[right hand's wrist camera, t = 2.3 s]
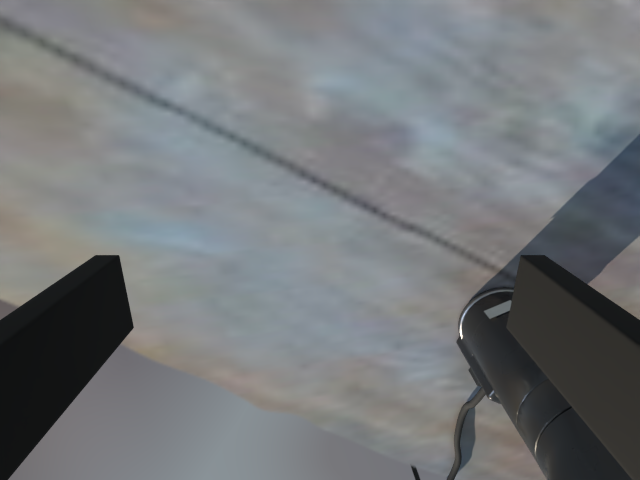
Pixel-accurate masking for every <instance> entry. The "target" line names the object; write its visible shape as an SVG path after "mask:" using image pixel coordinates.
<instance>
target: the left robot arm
mask: <svg viewBox="0 0 640 480" xmlns="http://www.w3.org/2000/svg"><path fill="white" fill-rule="evenodd" d="M513 292H514V289H513V288H496V289H491V290H488V291H485V292H483V293H481V294H479V295H478V296H476V297H475V298H473V299H472V300H471V301H470V302H469V303H468V304H467V305H466V307H465V308H464V310H463V311H462V313H461V315H460V318H459V323H458V330H459V335H460V336H459V338H458V340H457V344H458V346H459V348H460V350H461V351H462V353H463V355H464V357H465V358H466V360H467V362H468V364H469V365H470V369H469V372H470V374H471V376H472V377H473V379H474V381H475V383H476V385H478V386H481V387H482V388H481V389H480V390H479V392H478V393H477V394H476V395H475V397H474V398H473V399H472V400H471V401H469V402H466V403H465V404H464V405H463V407H462V409H461V411H460V414H459V417H458V420H457V424H456V429H455V435H454V447H455V462H454V464H453V467H452V469H451V472H450V474H449V476H448V478H447V480H454V478H455V476H456V474H457V472H458V469H459V467H460V464H461V449H460V437H461V432H462V427H463V423H464V419H465V417H466V414H467V412H468V410H469V409H470V408H473V407H475V406H476V405H477V404H478V403H479V402H480V401H481V400H482V398H483V397H484V396H485V395H487V397H488V398H489V399H490V400H492V401H494V402H497V403H499V404H502V406H503V407H504V409H505V411H506V412H507V414H508V416H509V417H510V419H511V421H512V422H513V424H514V426H515V427H516V429H517V431H518V432H519V434H520V436H521V437H522V439H523V440H524V442H525V444H526V445H527V447H528V449H529V450H530V452H531V454H532V455H533V457H534V459H535V460H536V462H537V464H538V465H539V467H540V469H541V471H542V472H543V474H544V476H545V477H546V479H547V480H632V479H631V478H630V476H629V475H628V474H627V473H626V472H625V470H624V469H623V468H622V467H621V466H620V464H619V463H618V462H617V461H616V459H615V458H614V457H613V456H612V455H611V453H610V452H609V451H608V450H607V449H606V447H605V446H604V445H603V444H602V443H601V441H600V440H599V439H598V438H597V437H596V435H595V434H594V433H593V432H592V431H591V429H590V428H589V427H588V426H587V424H586V423H585V422H584V421H583V420H582V418H581V417H580V416H579V415H578V414H577V412H576V411H575V410H574V409H573V408H572V406H571V405H570V404H569V403H568V402H567V400H566V399H565V398H564V397H563V395H562V394H561V393H560V392H559V391H558V389H557V388H556V387H555V386H554V385H553V383H552V382H551V381H550V380H549V379H548V377H547V376H546V375H545V374H544V373H543V371H542V370H541V369H540V368H539V367H538V365H537V364H536V363H535V362H534V360H533V359H532V358H531V357H530V356H529V354H528V353H527V352H526V351H525V350H524V348H523V347H522V346H521V345H520V344H519V342H518V341H517V340H516V339H515V338H514V336H513V335H512V334H511V333H510V332H509V330H508V329H507V328H506V327H507V322H508V317H509V312H510V307H511V302H512V297H513ZM411 468H412V471H413V474H414V477H415V480H420V477H419V474H418V471H417V468H416V467H415V466H411Z"/></svg>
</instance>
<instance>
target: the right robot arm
mask: <svg viewBox="0 0 640 480" xmlns="http://www.w3.org/2000/svg"><path fill="white" fill-rule="evenodd" d="M133 328H134V327H133V322H132V317H131V312H130V307H129V302H128V297H127V292H126V287H125V282H124V277H123V272H122V267H121V262H120V257H119V255H95V256H94V257H92V258H91V259H89V260H88V261H87V262H85V263H84V264H82V265H81V266H79V267H78V268H76V269H75V270H73V271H72V272H70V273H69V274H67V275H66V276H64V277H63V278H62V279H60V280H59V281H57V282H56V283H54V284H53V285H51V286H50V287H48V288H47V289H45V290H44V291H42V292H41V293H39V294H38V295H37V296H35V297H34V298H32V299H31V300H29V301H28V302H26V303H25V304H23V305H22V306H20V307H19V308H17V309H16V310H15V311H13V312H12V313H10V314H9V315H7V316H6V317H4V318H3V319H1V320H0V480H8V479H9V478H10V476H11V475H12V474H13V473H14V472H15V470H16V469H17V468H18V467H19V466H20V464H21V463H22V462H23V461H24V459H25V458H26V457H27V456H28V455H29V453H30V452H31V451H32V450H33V449H34V447H35V446H36V445H37V444H38V442H39V441H40V440H41V439H42V438H43V437H44V435H45V434H46V433H47V432H48V430H49V429H50V428H51V427H52V426H53V424H54V423H55V422H56V421H57V420H58V418H59V417H60V416H61V415H62V414H63V412H64V411H65V410H66V409H67V408H68V406H69V405H70V404H71V403H72V402H73V400H74V399H75V398H76V397H77V395H78V394H79V393H80V392H81V391H82V389H83V388H84V387H85V386H86V385H87V383H88V382H89V381H90V380H91V379H92V377H93V376H94V375H95V374H96V373H97V371H98V370H99V369H100V368H101V366H102V365H103V364H104V363H105V362H106V360H107V359H108V358H109V357H110V356H111V354H112V353H113V352H114V351H115V350H116V348H117V347H118V346H119V345H120V344H121V342H122V341H123V340H124V339H125V338H126V336H127V335H128V334H129V333H130V331H131V330H132V329H133ZM506 328H507V329H508V330H509V332H510V333H511V334H512V335H513V336H514V338H515V339H516V340H517V341H518V342H519V344H520V345H521V346H522V347H523V348H524V350H525V351H526V352H527V353H528V354H529V356H530V357H531V358H532V359H533V360H534V362H535V363H536V364H537V365H538V367H539V368H540V369H541V370H542V371H543V373H544V374H545V375H546V376H547V377H548V379H549V380H550V381H551V382H552V383H553V385H554V386H555V387H556V388H557V389H558V391H559V392H560V393H561V394H562V395H563V397H564V398H565V399H566V400H567V402H568V403H569V404H570V405H571V406H572V408H573V409H574V410H575V411H576V412H577V414H578V415H579V416H580V417H581V418H582V420H583V421H584V422H585V423H586V424H587V426H588V427H589V428H590V429H591V431H592V432H593V433H594V434H595V435H596V437H597V438H598V439H599V440H600V441H601V443H602V444H603V445H604V446H605V447H606V449H607V450H608V451H609V452H610V453H611V455H612V456H613V457H614V458H615V459H616V461H617V462H618V463H619V464H620V466H621V467H622V468H623V469H624V470H625V472H626V473H627V474H628V475H629V476H630V478H631V479H632V480H640V320H639V319H637V318H636V317H634V316H633V315H631V314H630V313H628V312H627V311H625V310H624V309H623V308H621V307H620V306H618V305H617V304H615V303H614V302H612V301H611V300H609V299H608V298H606V297H605V296H603V295H602V294H601V293H599V292H598V291H596V290H595V289H593V288H592V287H590V286H589V285H587V284H586V283H584V282H583V281H581V280H580V279H578V278H577V277H576V276H574V275H573V274H571V273H570V272H568V271H567V270H565V269H564V268H562V267H561V266H559V265H558V264H556V263H555V262H553V261H552V260H551V259H549V258H548V257H546V256H545V255H521V257H520V262H519V267H518V272H517V277H516V282H515V287H514V292H513V297H512V302H511V307H510V312H509V317H508V322H507V327H506Z"/></svg>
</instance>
